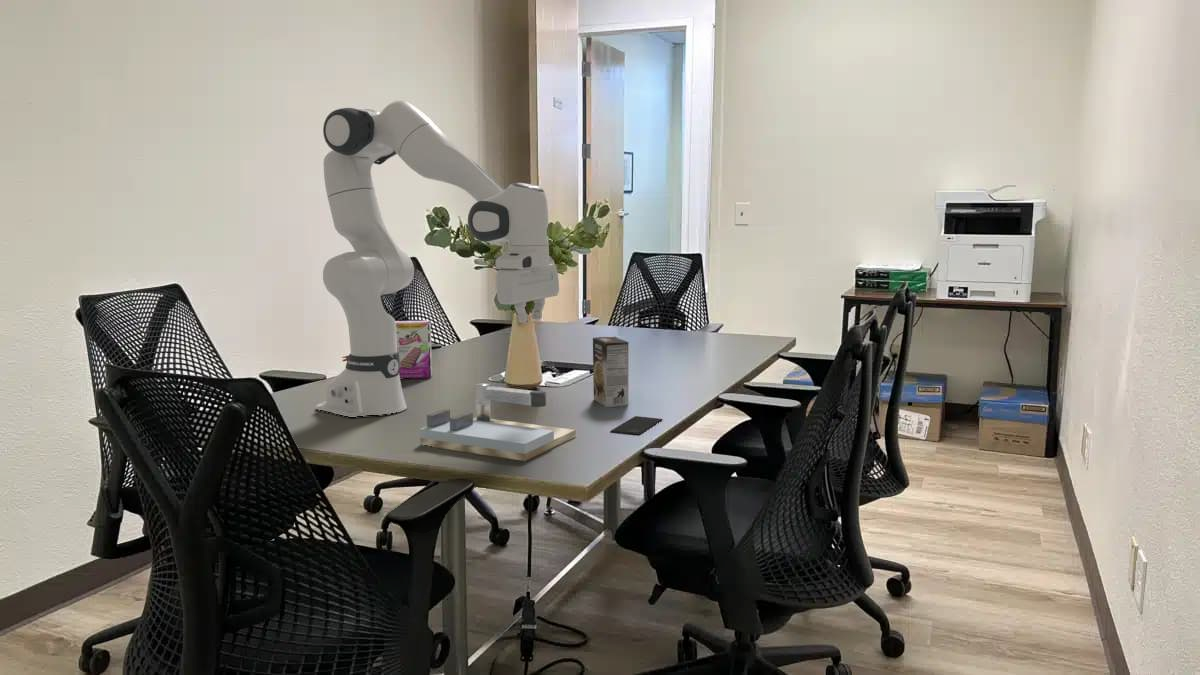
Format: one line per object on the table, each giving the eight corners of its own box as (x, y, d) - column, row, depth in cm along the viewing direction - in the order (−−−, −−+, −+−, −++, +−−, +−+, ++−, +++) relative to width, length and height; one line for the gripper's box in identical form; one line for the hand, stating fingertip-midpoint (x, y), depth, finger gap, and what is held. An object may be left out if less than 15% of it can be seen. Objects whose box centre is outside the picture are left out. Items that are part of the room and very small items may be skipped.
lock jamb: (420, 445, 186) (419, 417, 185) (477, 423, 203) (476, 397, 202) (525, 461, 174) (524, 431, 173) (575, 436, 191) (575, 409, 190)
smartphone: (633, 418, 208) (609, 434, 194) (633, 414, 208) (609, 430, 194) (663, 421, 205) (640, 438, 191) (663, 418, 205) (640, 434, 191)
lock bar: (473, 421, 198) (471, 385, 196) (482, 418, 201) (480, 382, 199) (541, 430, 189) (540, 393, 188) (549, 426, 192) (548, 390, 191)
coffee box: (592, 399, 226) (591, 337, 223) (615, 397, 228) (615, 335, 226) (605, 407, 217) (604, 342, 215) (629, 405, 220) (629, 341, 217)
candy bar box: (392, 380, 253) (389, 323, 250) (394, 376, 258) (391, 320, 255) (431, 378, 254) (429, 322, 252) (433, 375, 259) (430, 319, 257)
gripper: (541, 254, 205) (542, 314, 207) (490, 260, 187) (492, 325, 189) (565, 255, 202) (566, 315, 204) (515, 261, 184) (517, 327, 186)
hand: (530, 320), depth 196 cm, fingers open, 4 cm apart
